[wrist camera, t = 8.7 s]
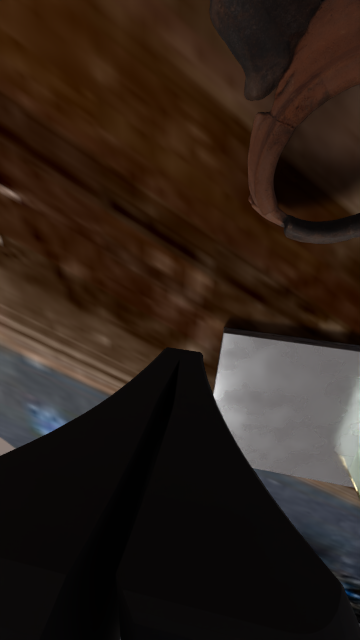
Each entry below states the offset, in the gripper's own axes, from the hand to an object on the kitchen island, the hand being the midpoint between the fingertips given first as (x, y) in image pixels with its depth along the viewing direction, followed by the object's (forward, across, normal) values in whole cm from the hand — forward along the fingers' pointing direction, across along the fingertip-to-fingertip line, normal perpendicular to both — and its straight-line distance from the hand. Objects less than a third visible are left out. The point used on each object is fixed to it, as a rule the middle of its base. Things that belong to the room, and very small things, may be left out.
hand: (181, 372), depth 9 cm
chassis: (+10, -12, +10) cm, 18 cm away
